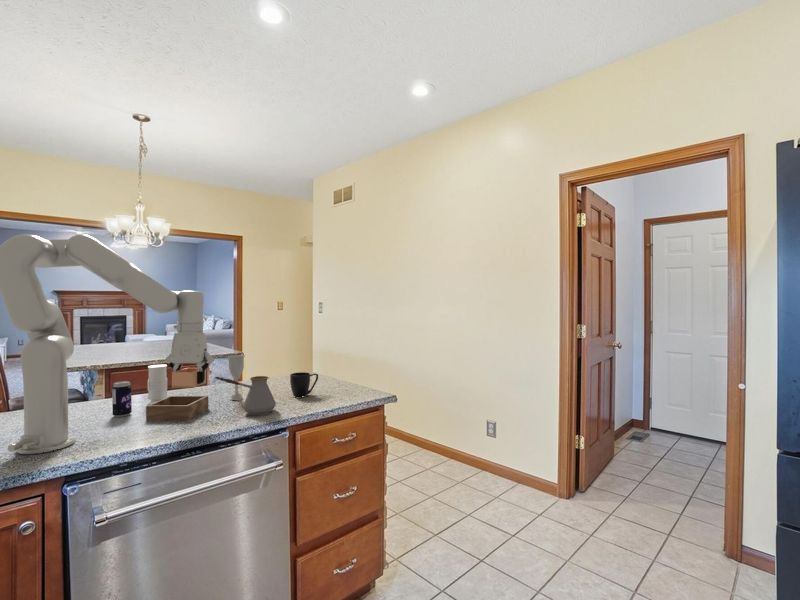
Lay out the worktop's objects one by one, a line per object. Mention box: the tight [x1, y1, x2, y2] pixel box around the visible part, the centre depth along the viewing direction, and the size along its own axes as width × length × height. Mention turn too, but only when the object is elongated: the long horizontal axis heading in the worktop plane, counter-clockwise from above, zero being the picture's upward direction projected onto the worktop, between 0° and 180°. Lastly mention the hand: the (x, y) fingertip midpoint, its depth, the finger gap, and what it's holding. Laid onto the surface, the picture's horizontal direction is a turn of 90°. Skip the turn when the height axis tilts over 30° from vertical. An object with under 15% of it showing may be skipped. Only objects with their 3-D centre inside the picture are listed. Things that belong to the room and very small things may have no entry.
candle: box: [147, 364, 168, 405], centre depth 165 cm, size 7×7×15 cm
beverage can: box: [111, 380, 133, 418], centre depth 147 cm, size 6×6×12 cm
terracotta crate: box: [171, 367, 207, 389], centre depth 133 cm, size 9×6×5 cm
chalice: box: [227, 354, 246, 401], centre depth 169 cm, size 7×7×18 cm
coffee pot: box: [212, 375, 277, 416], centre depth 146 cm, size 21×12×15 cm, turn 126°
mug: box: [289, 371, 319, 398], centre depth 175 cm, size 8×12×10 cm
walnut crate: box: [145, 395, 209, 421], centre depth 148 cm, size 15×15×5 cm
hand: (189, 382), depth 133 cm, fingers closed on terracotta crate, 6 cm apart
